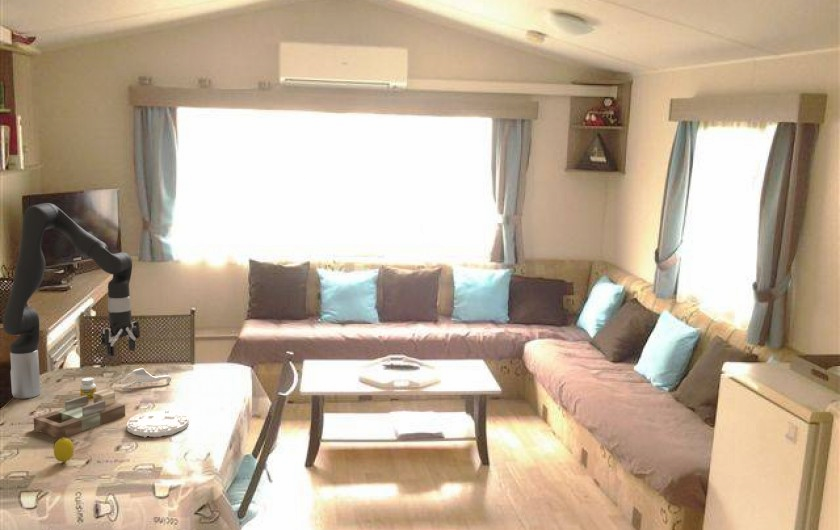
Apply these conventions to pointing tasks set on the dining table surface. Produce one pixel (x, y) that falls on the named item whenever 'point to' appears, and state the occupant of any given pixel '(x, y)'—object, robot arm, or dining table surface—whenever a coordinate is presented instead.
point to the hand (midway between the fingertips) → (121, 353)
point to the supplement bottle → (88, 388)
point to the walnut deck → (78, 417)
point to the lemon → (63, 449)
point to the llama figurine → (144, 377)
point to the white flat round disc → (157, 423)
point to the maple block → (104, 396)
